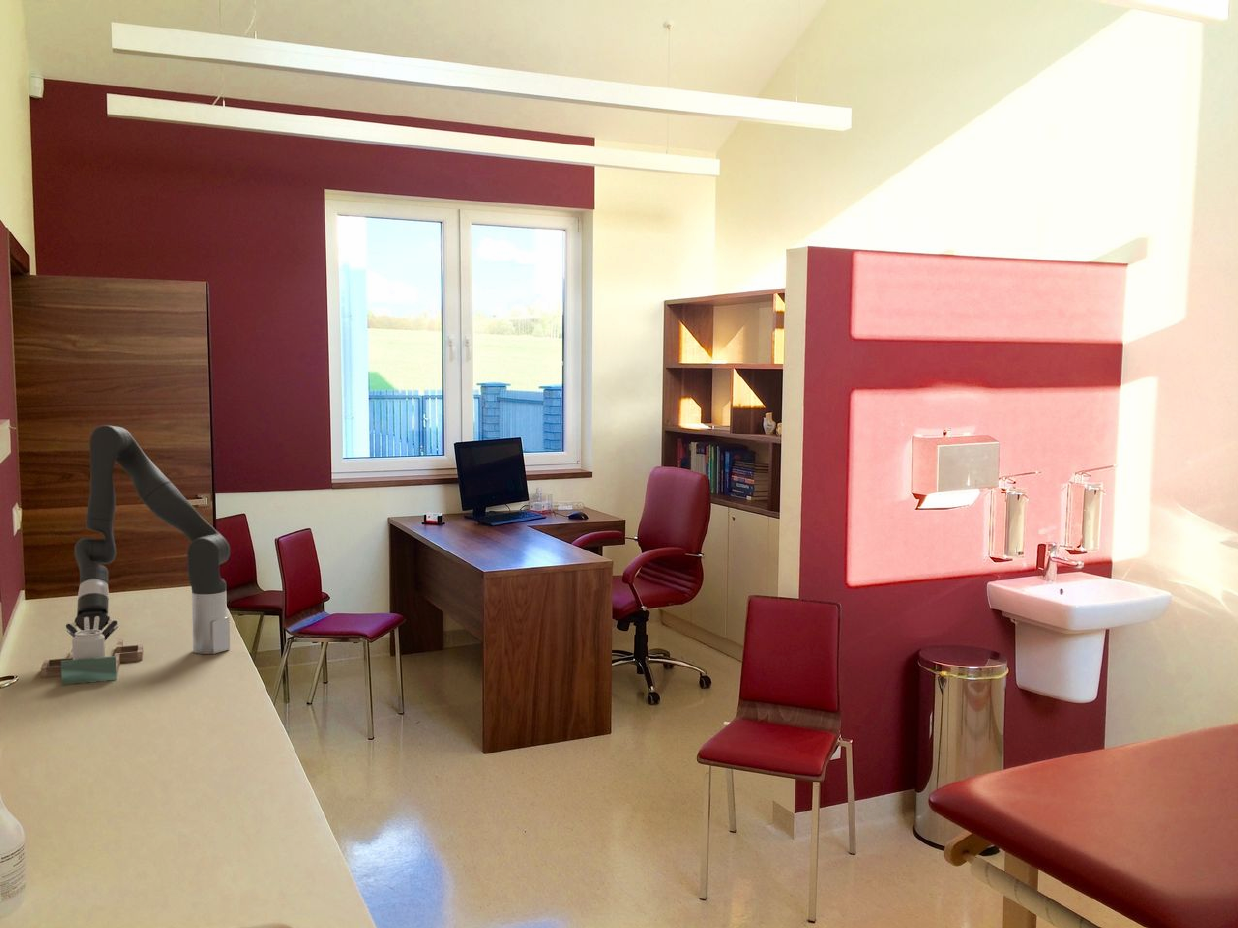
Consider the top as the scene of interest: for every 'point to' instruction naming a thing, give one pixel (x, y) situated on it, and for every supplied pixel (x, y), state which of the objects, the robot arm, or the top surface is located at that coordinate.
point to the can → (88, 644)
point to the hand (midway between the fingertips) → (90, 654)
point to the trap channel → (91, 665)
